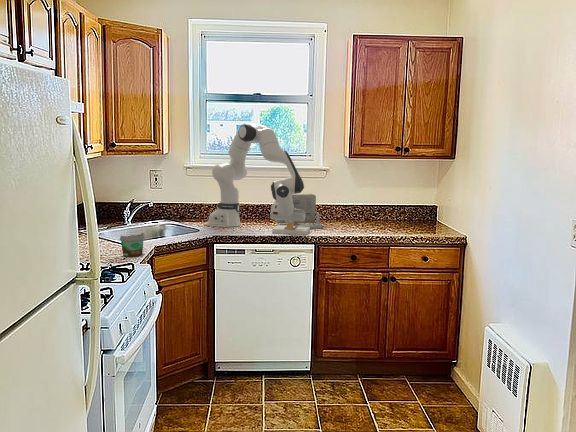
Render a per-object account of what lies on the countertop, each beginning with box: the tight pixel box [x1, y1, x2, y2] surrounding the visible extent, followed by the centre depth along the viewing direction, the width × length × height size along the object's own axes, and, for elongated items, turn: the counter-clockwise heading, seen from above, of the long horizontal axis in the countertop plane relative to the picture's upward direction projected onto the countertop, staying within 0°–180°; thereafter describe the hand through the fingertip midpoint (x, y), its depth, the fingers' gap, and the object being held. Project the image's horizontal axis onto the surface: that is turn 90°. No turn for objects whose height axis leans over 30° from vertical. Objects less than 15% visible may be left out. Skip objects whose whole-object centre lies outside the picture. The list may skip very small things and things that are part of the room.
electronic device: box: [299, 212, 323, 230], centre depth 343 cm, size 5×10×15 cm
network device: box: [274, 193, 317, 226], centre depth 350 cm, size 26×9×20 cm, turn 105°
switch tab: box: [286, 221, 294, 229], centre depth 323 cm, size 4×3×8 cm
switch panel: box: [271, 224, 311, 236], centre depth 327 cm, size 20×14×3 cm
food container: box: [119, 232, 146, 258], centre depth 256 cm, size 12×6×10 cm, turn 138°
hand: (289, 223), depth 321 cm, fingers closed
